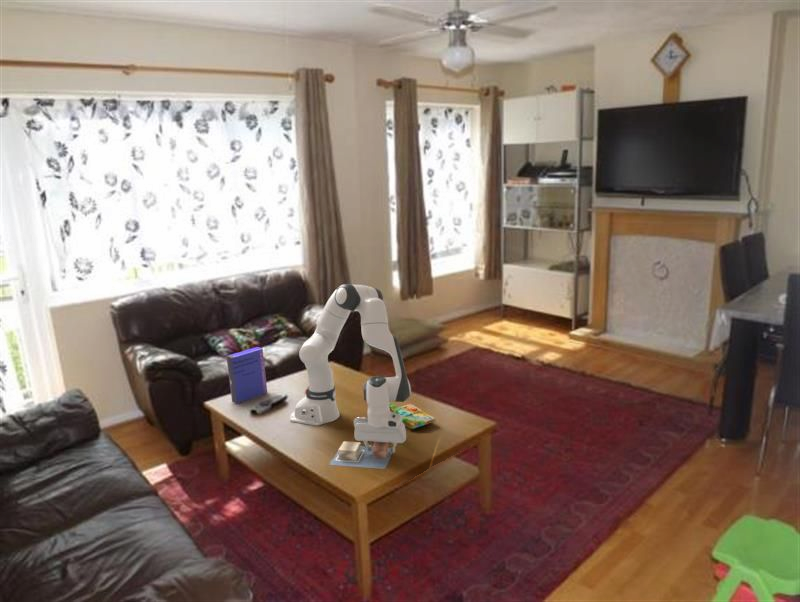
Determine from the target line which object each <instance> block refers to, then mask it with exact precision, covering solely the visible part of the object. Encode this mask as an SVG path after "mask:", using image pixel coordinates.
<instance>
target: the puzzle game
mask: <svg viewBox="0 0 800 602" xmlns="http://www.w3.org/2000/svg"><path fill="white" fill-rule="evenodd" d="M396 408H397V410H398V412H399V415H402V417H403V419H402V422H403V423H404V425H405V428H408V429H409V430H414V429H417V428H419V427H423V426H425V425H428V424H429V425H430V424H431V423H434V422H436V421H437V419H436V418H435V417H433V416H432V415H430V414H428V413H427V412H425V410H422V409H420V408H419V407H417V405H416V406H415V405H414V404H413V403H408V404H405V405H402V406H399V407H396Z"/></svg>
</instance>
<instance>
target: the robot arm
mask: <svg viewBox="0 0 800 602" xmlns="http://www.w3.org/2000/svg"><path fill="white" fill-rule="evenodd" d="M351 312H357V313H359V314H360V327H361V328H360V329H361V336H362V339H363V341H364V342H365V343H366V344H367V345H369V346H371V347H374V348H376V349H379V350H382V351H385V352H386V353H389V355H390V356H391V358H392V361H393V362H392V363H393V367H394V371H395V375H394V376H391V377H390V376H389V377H386V376H385V377H384V376H382V375H373V376H370V377H369V378H368V379H367V380H366V381H365V382H364V384H363V386H362V388H363V400H364V401H365V402H366V404H367V411H366V412H367V413H366V414H367V417H365V416H364V417H361V416H357V417H356V418H354V419H353V426H354V434H353V435H354V436H353V437H354V439H355V441H358V442H363V444H364V446H366V447H367V451H371V450H372V447H373V444H370V443H369V442H388V443H390V444H391V443H392V445H393V446H390V447H389V448H390V450H391V452H392V453H395V452H396V447H397V445H398V444H404V443H405V442H406V440H407V431H406V430H407V429H406V426H405V425H404V423H403V422H402V419H403V417H402V415H399V414H396V413H394V412H391V411H390V408H389V403H390V402H391V403H393V402H397V403H404V402H405V401H407V400H408V399H409V398H410V396H411V391H412V388H411V384H410V381H409V378H408V376H407V373H406V372H407V371H406V367H405V363H404V360H403V355H402V351H401V348H400V344H399V341H398V338H397V337H396V336H394V335H393V333H391V331H390V327H389V318H388V312H387V307H386V304H385V301H384V295H383V293H382V291H381V290H380V289H378V288H376V287H374V286H369V285H365V284H351V283H344V284H341V285H339V286H338V287H337V288H336V289H335V290H334V291H333V293H332V294H331V295H330V297H329V298H328V300H327V302H326V303H325V305H324V307H323V308H322V311H321V313H320V315H319V317H318V319H317V323H316V328H315V330H314V333H313V334H312V335H311V336H310V337H309V338H308V339H306V340H305V341H304V342H303V344H302V346H301V347H300V348H299V354H298V356H299V359H300V360H301V362H302V363H303V364H304V366H305V368H306V372H307V376H308V377H307V379H308V386H307V388H306V389H305V391H304V395H305V396H304V397H303V398H301V399H300V400H299V401H297V403H296V405H295V408H294V411H293V412H292V413H291V414H290V416H289V421H290V422H292V423H296V424H297V423H299V424H304V425H305V424H306V425H311V426H317V427H318V426H321V425H324V424H329V423H331V422H333V421H334V422H335V420H337V419H338V418H340V415H341V414H340V412H339V409H338V405H337V402H336V401H337V400H336V397H337V396H336V388H335V387H336V386H335V384H334V383H335V382H334V371H333V369H332V368H331V366H330V363H329V358H328V357H329V355H330V353H332V351H334V350H335V347H336V344H337V342H338V340H339V337H340V334H341V331H342V329H344V328H343V327H345V326H344V325H345V324H346V322H347V320H348V318H349V316H350V314H351Z"/></svg>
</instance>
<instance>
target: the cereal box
mask: <svg viewBox="0 0 800 602" xmlns="http://www.w3.org/2000/svg"><path fill="white" fill-rule="evenodd" d="M226 363H227V371H228V372H227V373H228V380H229V389H230V396H231V402H232V403H234V404H241V403H244V402H246V401H248V400H252V399H255V398H257V397H260V396H263V395H265V394H268V389H267V388H268V387H267V385H268V384H267V376H266V368H265V367H266V366H265V357H264V350H263V348H262V347H259V346H255V347H253V348H249V349H246V350H242V351H240V352H236V353H232V354H229V355H226Z"/></svg>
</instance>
